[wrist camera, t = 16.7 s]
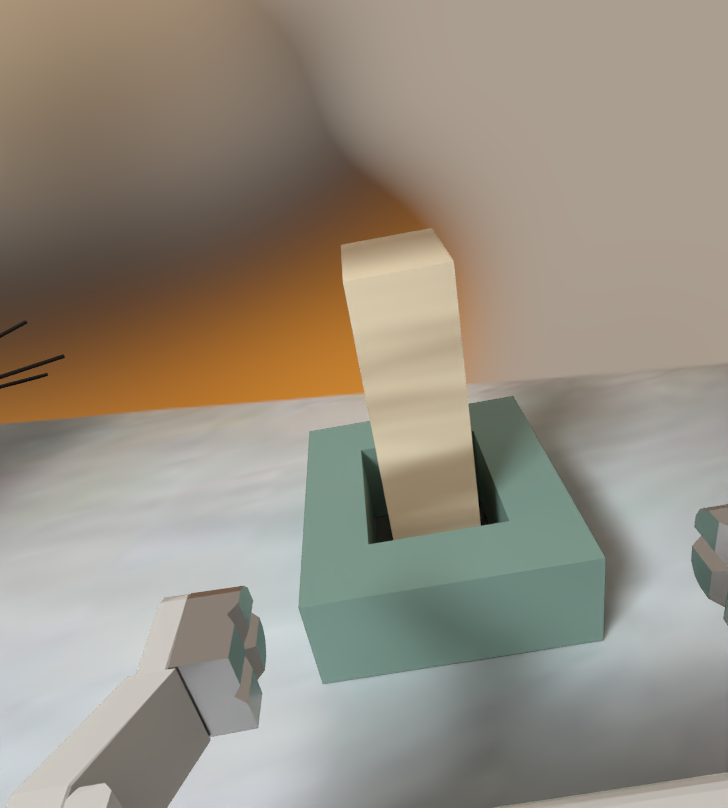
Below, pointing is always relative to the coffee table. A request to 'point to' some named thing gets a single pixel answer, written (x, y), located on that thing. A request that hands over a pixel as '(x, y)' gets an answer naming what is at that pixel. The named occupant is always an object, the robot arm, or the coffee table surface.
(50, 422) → the coffee table surface
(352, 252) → the light wooden block
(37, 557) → the coffee table surface
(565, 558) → the sage square frame
